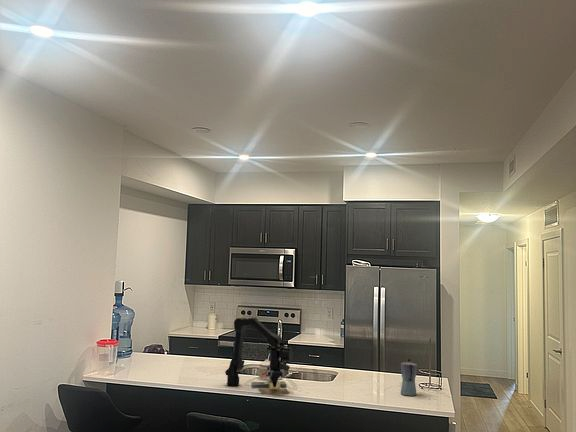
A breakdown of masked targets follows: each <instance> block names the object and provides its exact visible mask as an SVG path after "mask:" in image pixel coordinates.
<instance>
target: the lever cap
mask: <svg viewBox="0 0 576 432" xmlns="http://www.w3.org/2000/svg"><path fill="white" fill-rule="evenodd" d="M280 382H281V381H279V380H278V381H277V384H276V387H274V386H273V383H272V381H271V380H269V381H268V387H269V388H268V389H280Z"/></svg>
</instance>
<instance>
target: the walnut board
mask: <svg viewBox="0 0 576 432" xmlns="http://www.w3.org/2000/svg"><path fill="white" fill-rule="evenodd" d="M258 391H259V393H260V394H261V395H270V394H271V395H280V394H282V395H283V394H285V395H286V394H290V391H289V390H288V389H287V387H286V388H280V389H269V388H258Z"/></svg>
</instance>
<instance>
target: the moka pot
mask: <svg viewBox="0 0 576 432" xmlns="http://www.w3.org/2000/svg"><path fill="white" fill-rule="evenodd" d="M417 368H418V364H417V363H414V362H411V359H410V358H409V359H408V358H407V361H405V362H404V361H403V362H401V363H400V370H401V371H400V372H401V377H402V382H401V387H400V388H401V389H400V395H403V396H411V397H414V396H417V388H416V376H417Z"/></svg>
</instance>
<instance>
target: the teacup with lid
mask: <svg viewBox="0 0 576 432" xmlns="http://www.w3.org/2000/svg"><path fill="white" fill-rule="evenodd" d="M268 365H270V361H269V359H265V360H264V361H262V362H260V363H259V374H258V375H259V376H258V377H259V379H260V380H264V381H267V378H269V381H271V380H270V377H269V374H268V372H269V371H267V366H268Z"/></svg>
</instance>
